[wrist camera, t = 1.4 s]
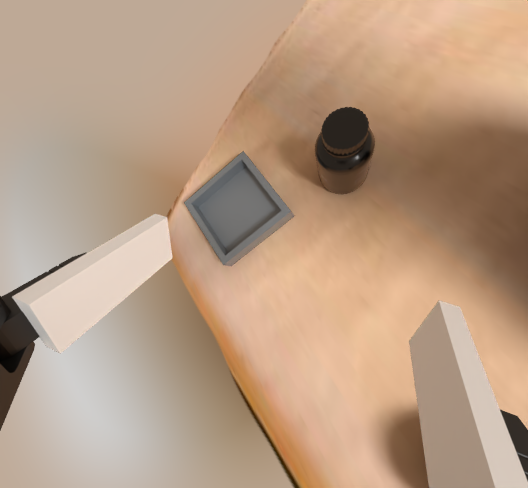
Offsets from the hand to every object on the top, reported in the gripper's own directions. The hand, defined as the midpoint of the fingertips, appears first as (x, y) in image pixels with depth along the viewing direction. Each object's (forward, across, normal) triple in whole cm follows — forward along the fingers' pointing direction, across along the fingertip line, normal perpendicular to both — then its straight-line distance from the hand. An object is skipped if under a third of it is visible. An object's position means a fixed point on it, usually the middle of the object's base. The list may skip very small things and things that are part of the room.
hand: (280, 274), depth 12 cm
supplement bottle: (+30, +1, -3) cm, 30 cm away
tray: (+25, -13, -11) cm, 30 cm away
